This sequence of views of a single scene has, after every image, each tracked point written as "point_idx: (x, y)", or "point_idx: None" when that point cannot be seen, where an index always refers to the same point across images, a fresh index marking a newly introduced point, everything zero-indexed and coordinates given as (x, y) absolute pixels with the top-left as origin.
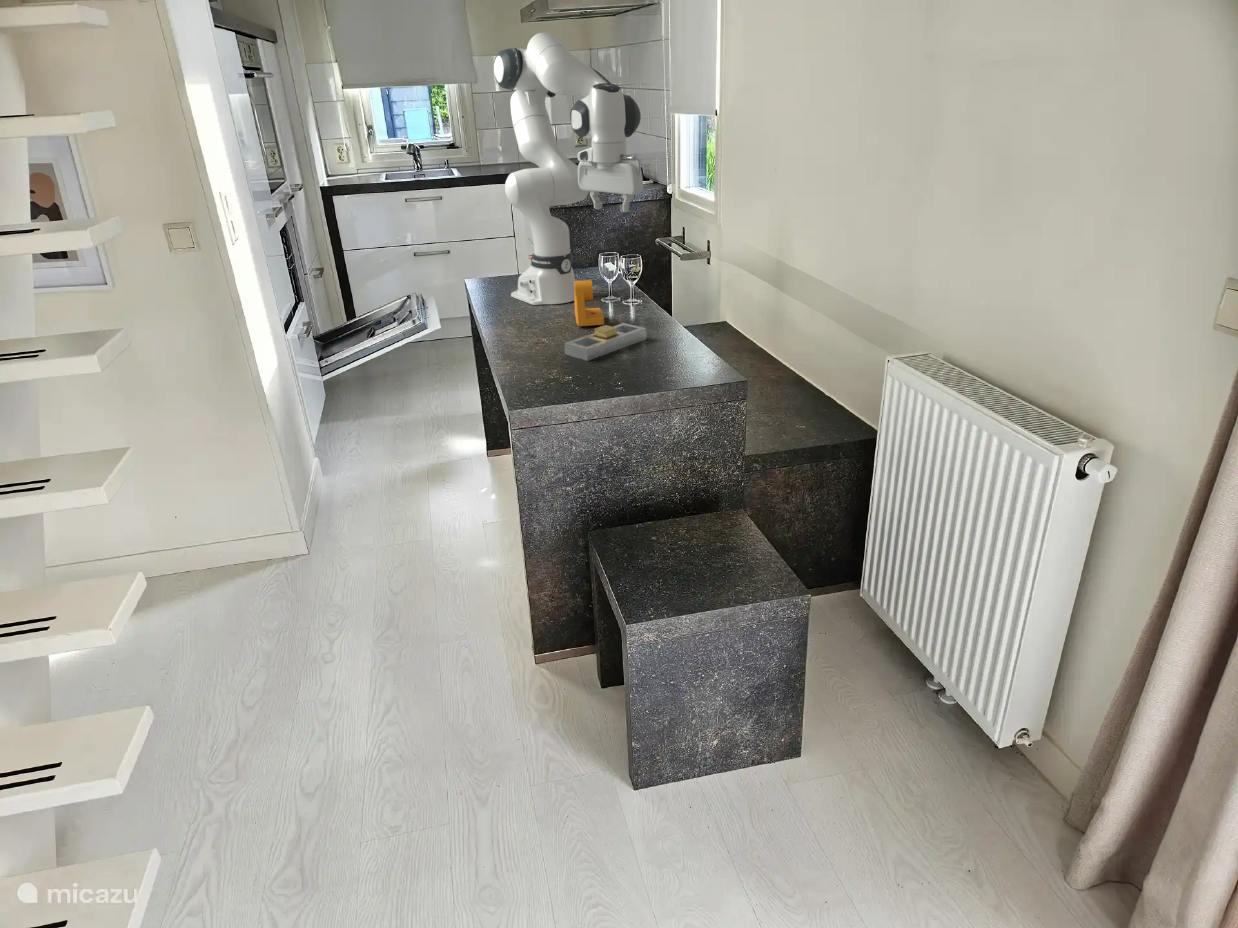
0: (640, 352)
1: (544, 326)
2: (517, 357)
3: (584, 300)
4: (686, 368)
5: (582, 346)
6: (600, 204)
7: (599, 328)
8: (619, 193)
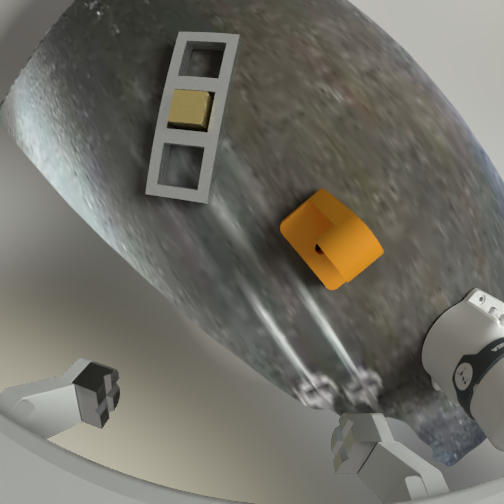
0: (126, 124)
1: (394, 174)
2: (310, 4)
3: (326, 216)
4: (44, 110)
5: (195, 37)
6: (339, 449)
7: (197, 97)
8: (20, 426)
